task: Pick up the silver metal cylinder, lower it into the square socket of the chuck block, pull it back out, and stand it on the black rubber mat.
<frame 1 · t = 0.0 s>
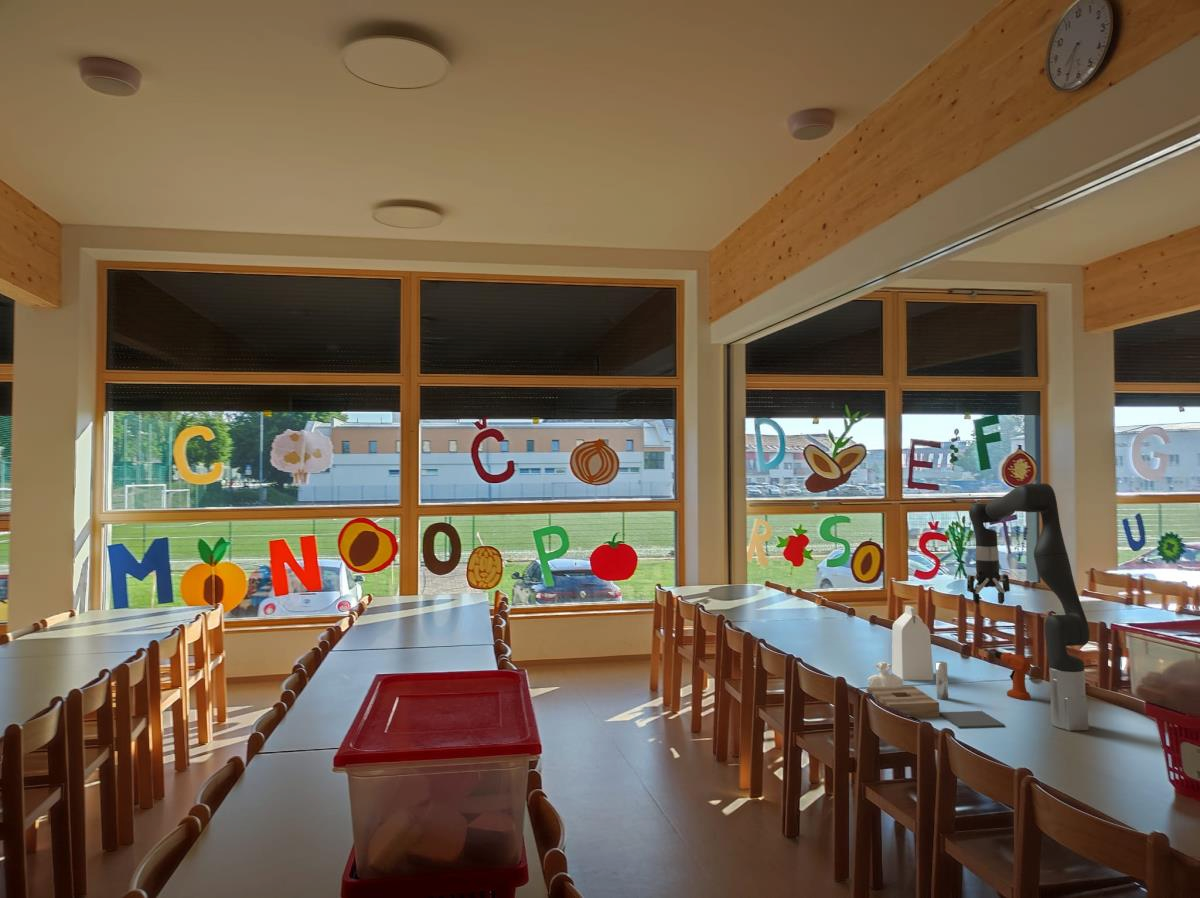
hand: (989, 603, 283), 29 cm above the table, tool pointing down, fingers open, 8 cm apart
chuck block: (901, 708, 259), on the table
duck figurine: (885, 692, 279), on the table
silver metal cylinder: (942, 698, 269), on the table
milk: (912, 676, 299), on the table
toy drill: (1007, 694, 273), on the table
rubber mat: (970, 720, 245), on the table
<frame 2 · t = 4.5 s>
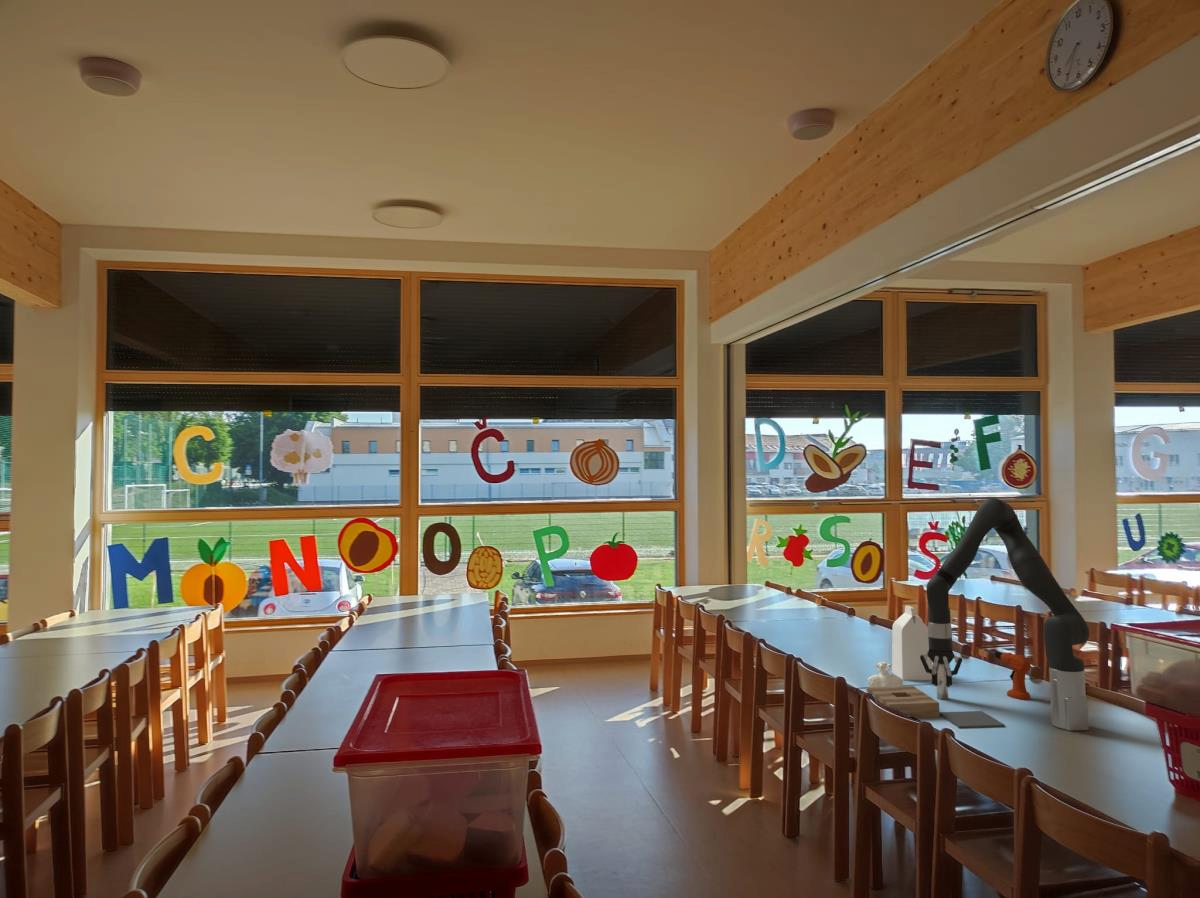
hand: (942, 685, 269), 4 cm above the table, tool pointing down, fingers closed on silver metal cylinder, 3 cm apart
silver metal cylinder: (942, 698, 269), on the table, touching gripper
everything else where it was.
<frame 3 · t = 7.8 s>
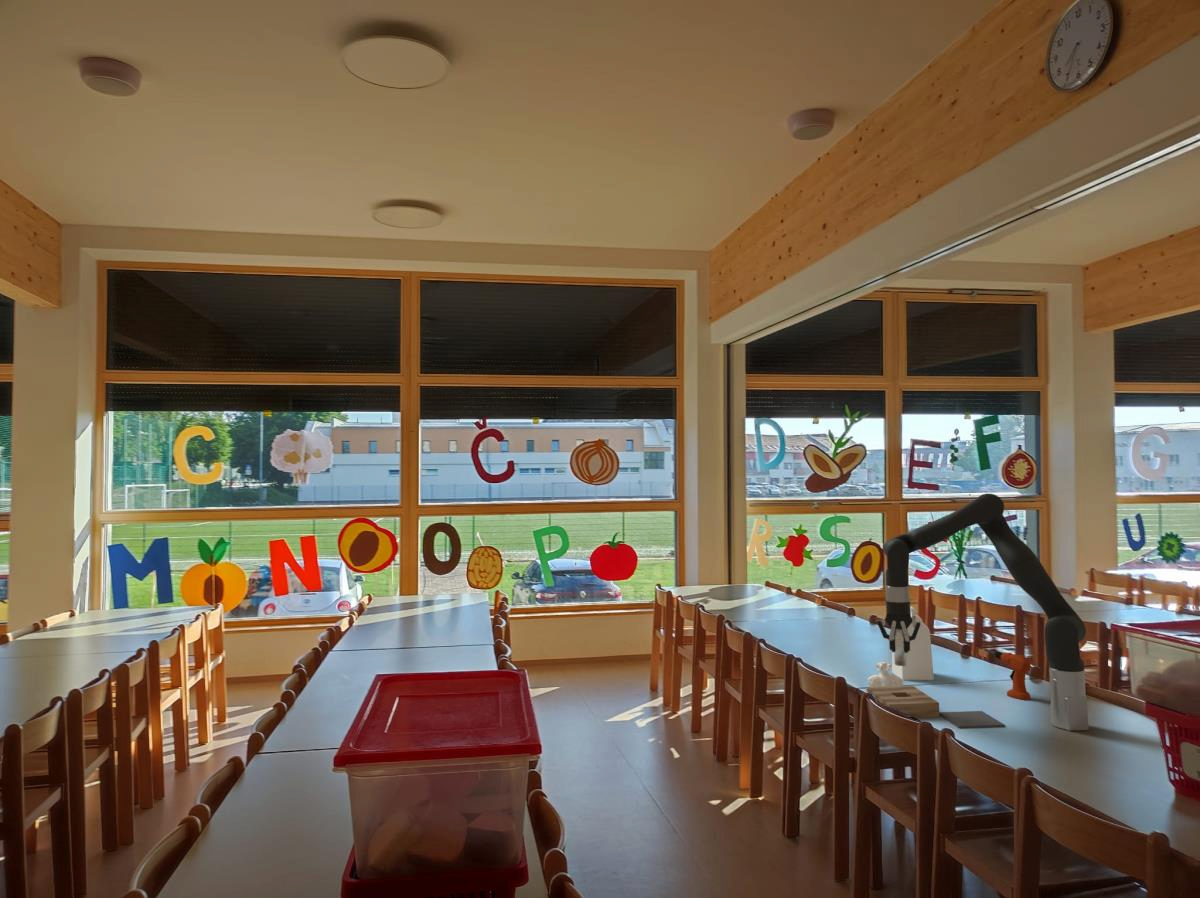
hand: (899, 651, 260), 19 cm above the table, tool pointing down, fingers closed on silver metal cylinder, 3 cm apart
silver metal cylinder: (900, 664, 259), point 14 cm above the table, touching gripper
everything else where it was.
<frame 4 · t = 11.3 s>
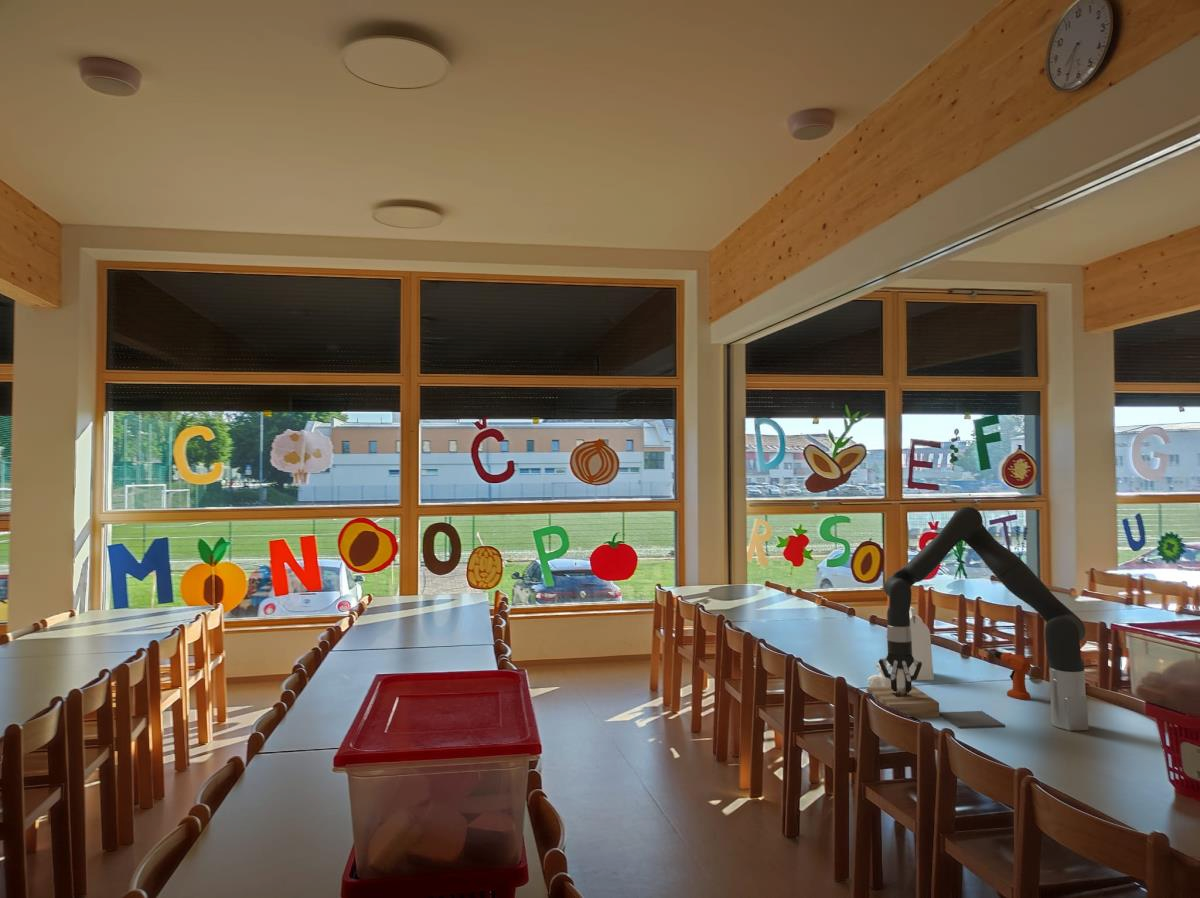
hand: (901, 691, 259), 6 cm above the table, tool pointing down, fingers closed on silver metal cylinder, 3 cm apart
silver metal cylinder: (902, 704, 259), point 1 cm above the table, touching gripper
everything else where it was.
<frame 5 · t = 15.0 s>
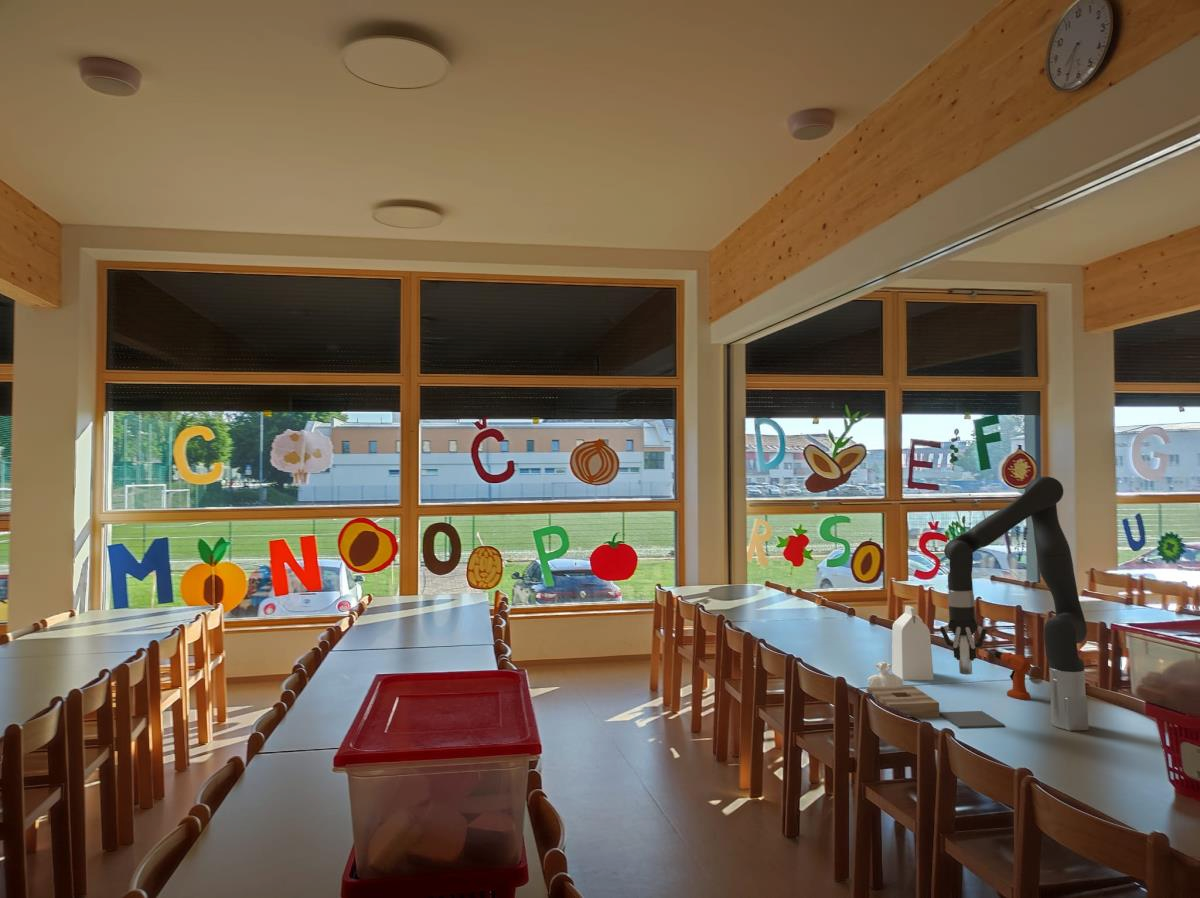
hand: (965, 659, 246), 19 cm above the table, tool pointing down, fingers closed on silver metal cylinder, 3 cm apart
silver metal cylinder: (965, 673, 246), point 14 cm above the table, touching gripper
everything else where it was.
when the fingers open (6 cm above the table, at t = 18.5 s): silver metal cylinder drops 1 cm, resting on rubber mat.
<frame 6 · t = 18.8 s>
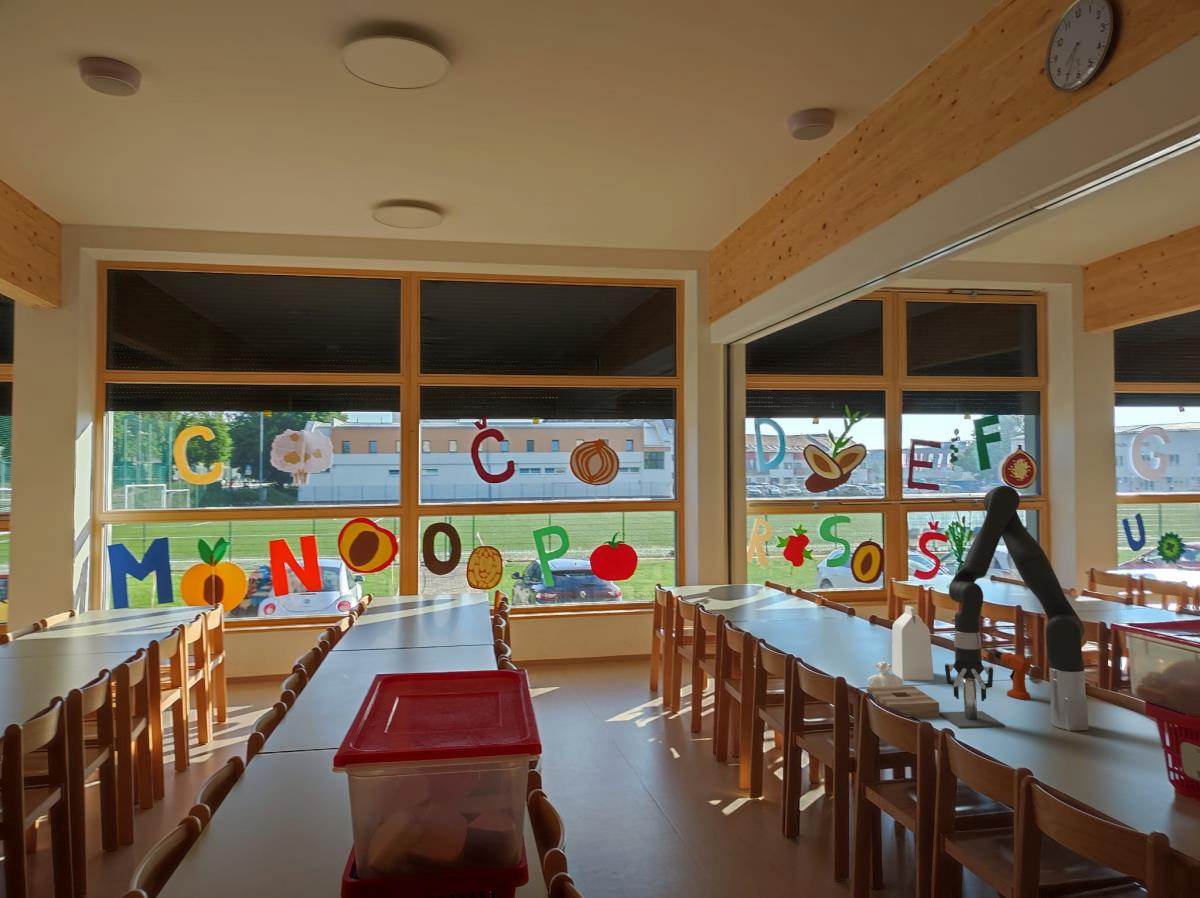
hand: (969, 699, 245), 6 cm above the table, tool pointing down, fingers open, 6 cm apart
silver metal cylinder: (971, 718, 245), point 1 cm above the table, touching rubber mat
everything else where it was.
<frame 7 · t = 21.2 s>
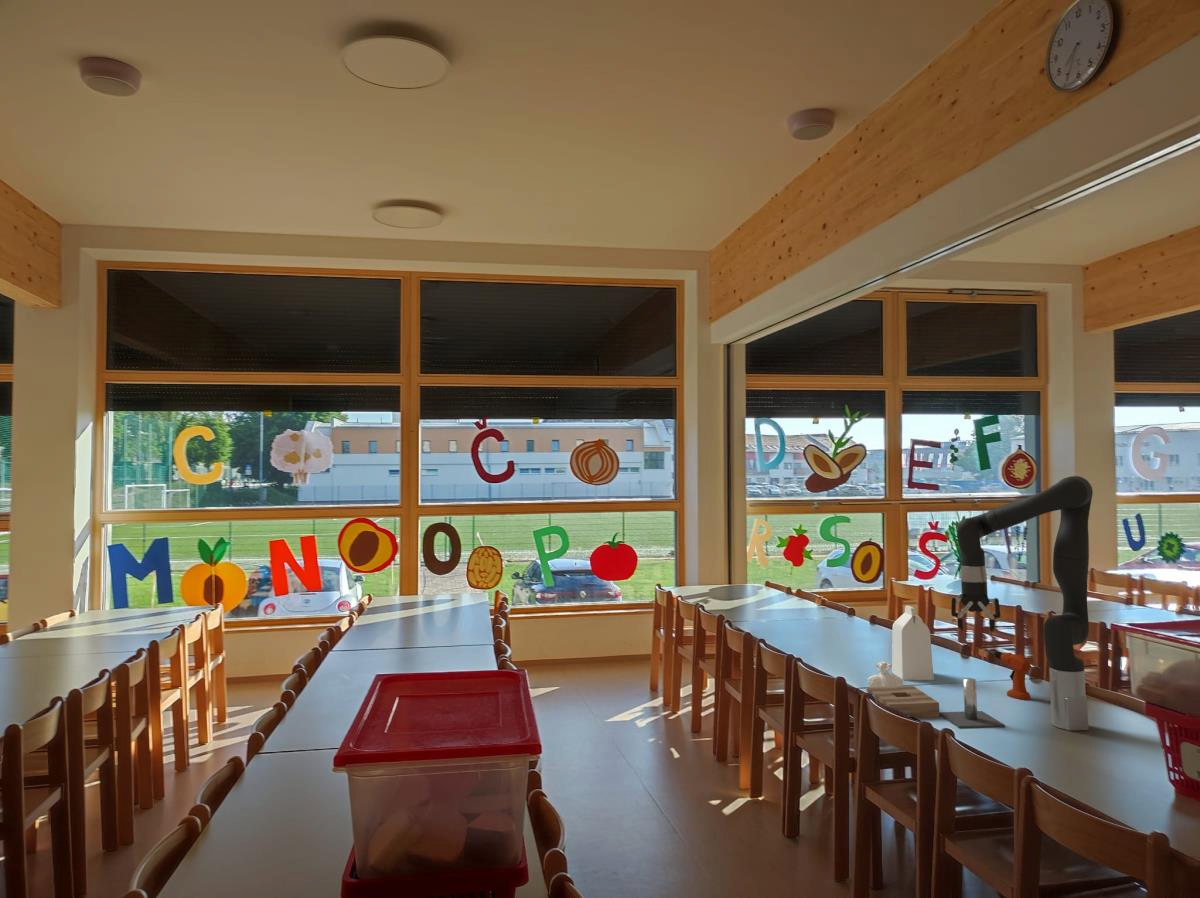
hand: (976, 630, 254), 26 cm above the table, tool pointing down, fingers open, 8 cm apart
nothing on the table moved.
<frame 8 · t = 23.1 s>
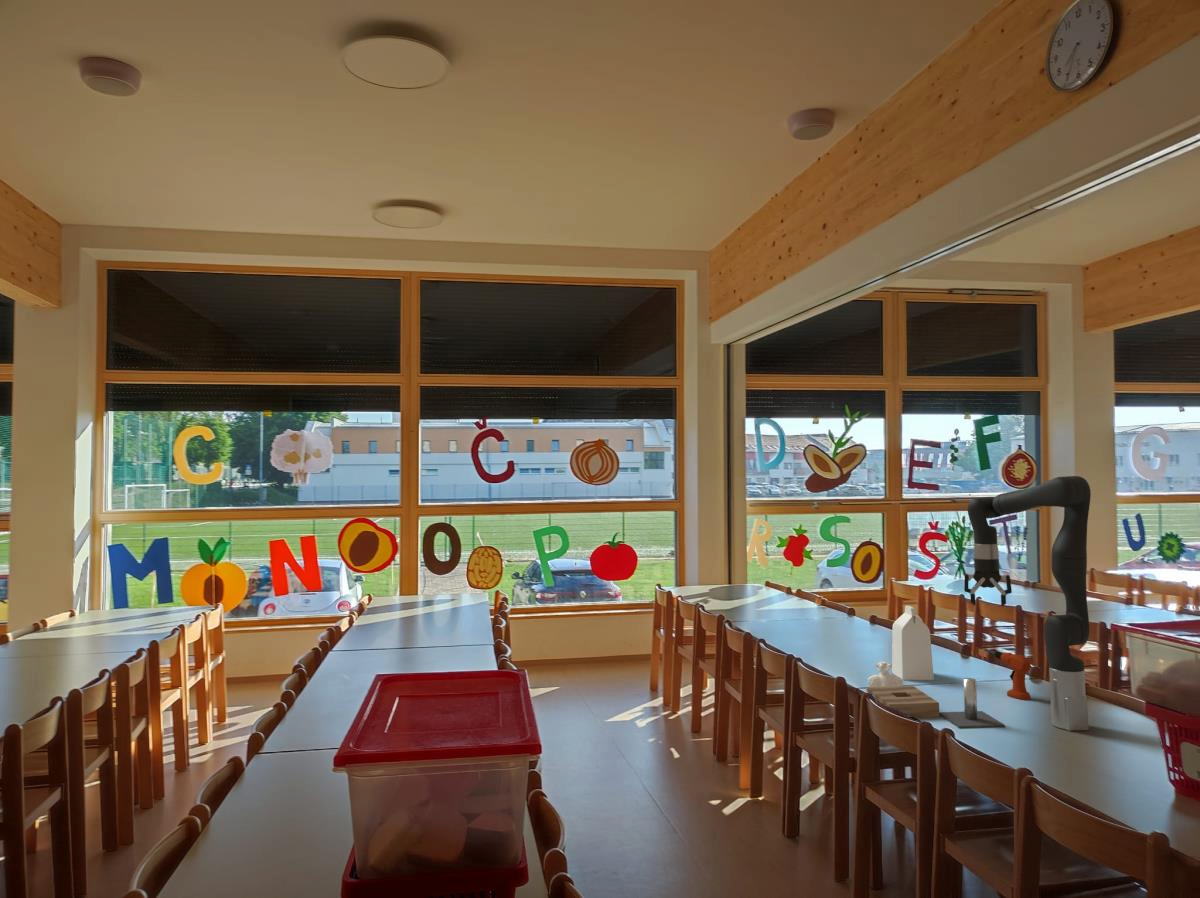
hand: (988, 605, 264), 32 cm above the table, tool pointing down, fingers open, 8 cm apart
nothing on the table moved.
at the end: silver metal cylinder inside the target area on the rubber mat (0.1 cm from its centre), point 0.6 cm above the rubber mat's base; silver metal cylinder tilted 0°; the gripper is holding nothing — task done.
